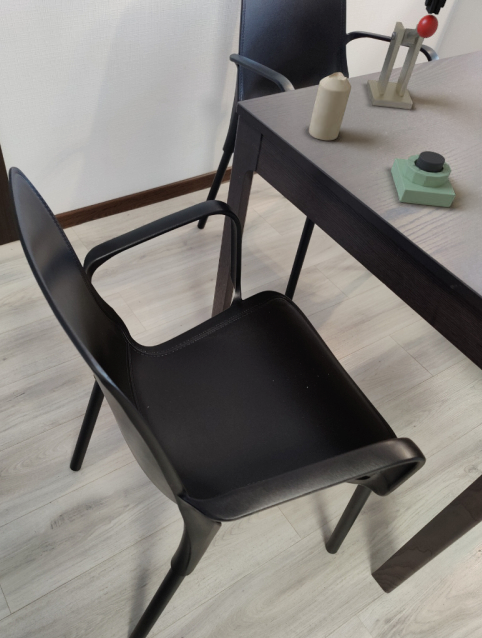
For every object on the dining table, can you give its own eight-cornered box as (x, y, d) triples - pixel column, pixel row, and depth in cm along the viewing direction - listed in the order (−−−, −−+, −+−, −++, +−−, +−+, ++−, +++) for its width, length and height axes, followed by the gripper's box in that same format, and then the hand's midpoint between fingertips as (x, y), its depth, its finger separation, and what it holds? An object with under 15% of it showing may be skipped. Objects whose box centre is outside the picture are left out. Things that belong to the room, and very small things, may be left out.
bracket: (410, 109, 103) (437, 37, 93) (371, 105, 103) (394, 33, 93) (402, 89, 109) (427, 20, 99) (366, 85, 109) (386, 16, 99)
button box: (436, 175, 86) (447, 152, 83) (449, 207, 80) (461, 184, 77) (390, 170, 87) (399, 147, 83) (399, 202, 80) (409, 178, 77)
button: (437, 162, 82) (442, 152, 80) (442, 175, 79) (447, 164, 78) (413, 160, 82) (417, 149, 81) (417, 172, 79) (422, 162, 78)
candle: (313, 124, 96) (327, 66, 88) (341, 131, 95) (357, 73, 87) (304, 135, 93) (317, 76, 85) (333, 143, 91) (349, 84, 84)
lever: (437, 37, 87) (443, 13, 85) (418, 35, 87) (423, 11, 85) (411, 49, 100) (416, 29, 98) (394, 47, 100) (399, 27, 98)
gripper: (439, -143, 69) (391, 14, 84) (547, -131, 69) (480, 24, 84) (429, -150, 74) (385, 0, 88) (529, -138, 74) (469, 10, 88)
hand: (431, 11), depth 86 cm, fingers closed
